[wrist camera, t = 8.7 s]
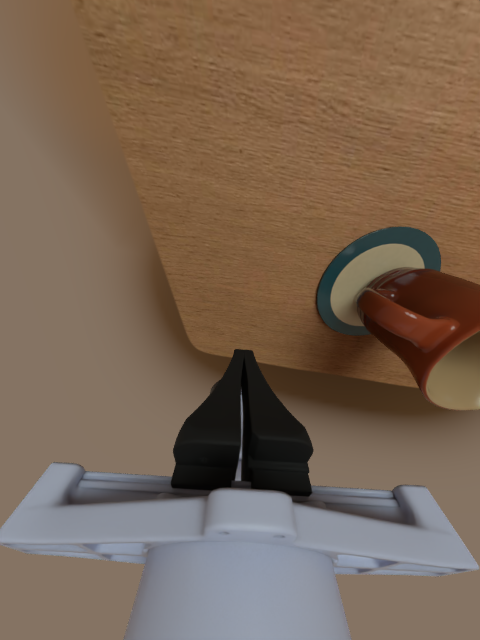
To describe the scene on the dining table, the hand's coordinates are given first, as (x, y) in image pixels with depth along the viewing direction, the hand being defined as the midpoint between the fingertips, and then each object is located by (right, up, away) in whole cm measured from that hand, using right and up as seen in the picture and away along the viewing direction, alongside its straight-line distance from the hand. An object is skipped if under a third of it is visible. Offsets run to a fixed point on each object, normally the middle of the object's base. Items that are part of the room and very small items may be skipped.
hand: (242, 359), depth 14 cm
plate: (+14, +6, +6) cm, 17 cm away
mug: (+14, +6, +6) cm, 17 cm away
